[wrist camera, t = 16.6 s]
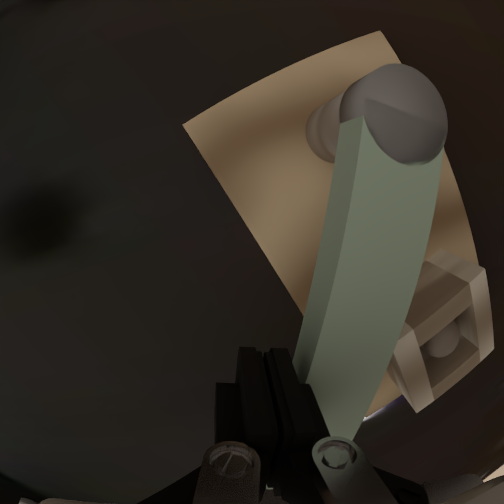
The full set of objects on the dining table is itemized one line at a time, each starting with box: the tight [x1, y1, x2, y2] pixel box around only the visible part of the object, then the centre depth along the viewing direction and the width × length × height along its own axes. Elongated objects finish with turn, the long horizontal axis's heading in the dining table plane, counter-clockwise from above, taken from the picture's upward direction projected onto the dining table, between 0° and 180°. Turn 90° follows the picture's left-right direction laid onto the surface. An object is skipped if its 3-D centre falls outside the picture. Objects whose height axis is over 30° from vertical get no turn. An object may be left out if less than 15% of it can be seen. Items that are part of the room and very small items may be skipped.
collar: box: [386, 249, 494, 413], centre depth 15 cm, size 6×6×4 cm
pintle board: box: [183, 31, 479, 417], centre depth 14 cm, size 22×12×6 cm, turn 32°
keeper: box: [266, 63, 448, 489], centre depth 10 cm, size 3×18×2 cm, turn 171°
